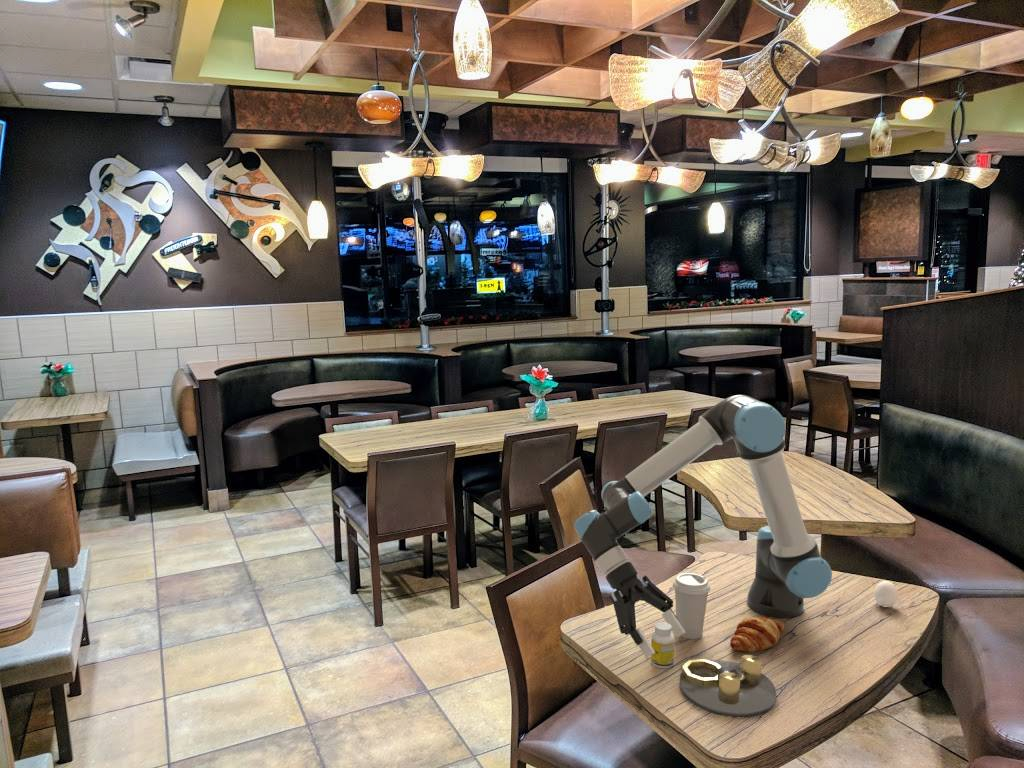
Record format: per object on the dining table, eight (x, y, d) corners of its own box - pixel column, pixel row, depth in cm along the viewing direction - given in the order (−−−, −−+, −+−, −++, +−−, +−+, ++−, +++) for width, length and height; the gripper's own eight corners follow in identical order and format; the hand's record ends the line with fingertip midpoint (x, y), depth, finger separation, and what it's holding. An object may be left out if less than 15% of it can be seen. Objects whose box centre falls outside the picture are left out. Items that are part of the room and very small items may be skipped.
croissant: (771, 638, 201) (760, 608, 203) (802, 635, 193) (791, 604, 195) (722, 661, 188) (712, 629, 190) (754, 658, 180) (743, 625, 182)
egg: (868, 603, 214) (870, 578, 213) (886, 601, 216) (888, 576, 215) (883, 612, 209) (885, 586, 207) (901, 610, 210) (904, 584, 209)
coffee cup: (709, 643, 191) (711, 588, 188) (671, 639, 193) (673, 585, 190) (707, 626, 200) (709, 573, 198) (670, 623, 202) (672, 570, 200)
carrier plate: (750, 663, 181) (752, 638, 180) (793, 714, 161) (795, 686, 160) (667, 668, 179) (668, 643, 178) (699, 720, 158) (700, 692, 157)
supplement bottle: (648, 658, 184) (649, 620, 182) (669, 657, 184) (671, 619, 183) (654, 669, 178) (655, 631, 177) (676, 668, 179) (677, 630, 177)
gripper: (636, 561, 198) (683, 633, 191) (577, 590, 181) (627, 670, 173) (653, 547, 194) (702, 620, 186) (595, 575, 176) (647, 657, 168)
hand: (666, 645), depth 179 cm, fingers open, 13 cm apart
